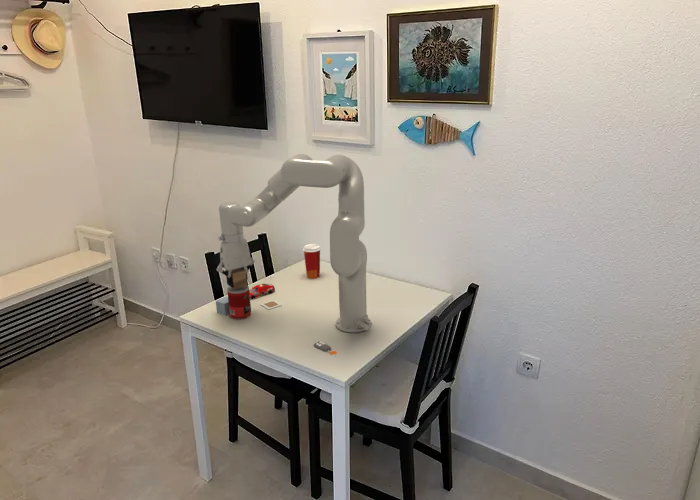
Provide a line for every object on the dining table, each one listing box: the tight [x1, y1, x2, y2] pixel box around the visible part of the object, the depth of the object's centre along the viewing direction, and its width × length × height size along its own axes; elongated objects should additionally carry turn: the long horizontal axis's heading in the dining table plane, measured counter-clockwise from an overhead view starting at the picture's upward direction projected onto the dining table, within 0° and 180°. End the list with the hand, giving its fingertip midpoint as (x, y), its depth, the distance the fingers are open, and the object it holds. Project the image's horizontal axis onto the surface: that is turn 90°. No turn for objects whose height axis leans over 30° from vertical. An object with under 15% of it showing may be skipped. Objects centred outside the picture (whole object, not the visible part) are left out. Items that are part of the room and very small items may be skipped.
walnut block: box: [231, 268, 248, 289], centre depth 196 cm, size 5×5×6 cm
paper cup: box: [302, 243, 322, 280], centre depth 233 cm, size 8×8×14 cm
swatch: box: [260, 299, 282, 310], centre depth 208 cm, size 6×6×1 cm
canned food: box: [226, 284, 252, 320], centre depth 199 cm, size 8×8×11 cm
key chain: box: [312, 341, 338, 357], centre depth 174 cm, size 13×4×2 cm, turn 45°
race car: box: [249, 283, 276, 300], centre depth 218 cm, size 13×5×4 cm, turn 126°
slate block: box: [215, 295, 230, 317], centre depth 203 cm, size 5×5×5 cm
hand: (237, 283), depth 197 cm, fingers closed on walnut block, 4 cm apart
